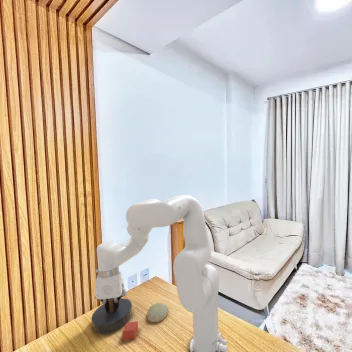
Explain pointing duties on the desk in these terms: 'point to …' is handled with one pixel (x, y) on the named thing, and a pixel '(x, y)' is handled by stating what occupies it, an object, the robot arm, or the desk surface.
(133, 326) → the block
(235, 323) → the desk surface
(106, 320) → the pot lid
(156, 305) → the sea urchin shell
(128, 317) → the pot
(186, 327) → the desk surface
